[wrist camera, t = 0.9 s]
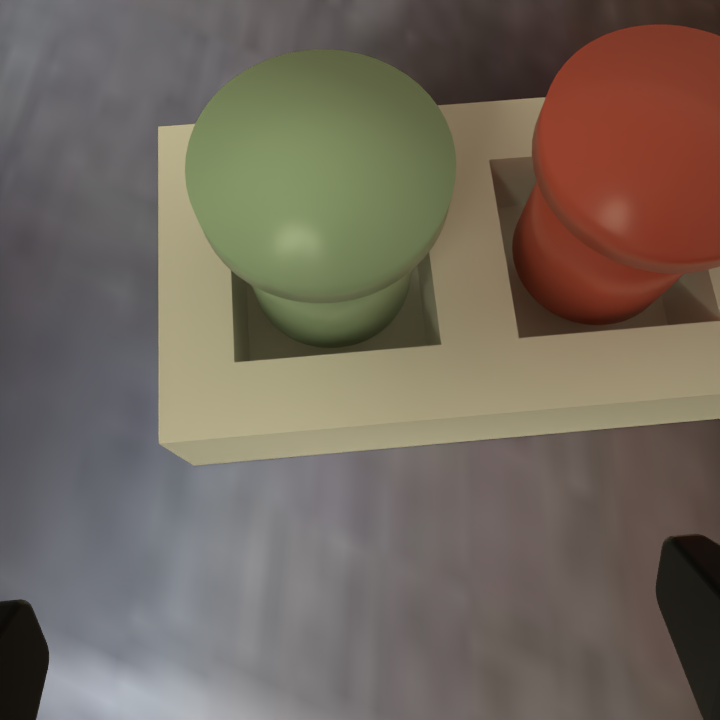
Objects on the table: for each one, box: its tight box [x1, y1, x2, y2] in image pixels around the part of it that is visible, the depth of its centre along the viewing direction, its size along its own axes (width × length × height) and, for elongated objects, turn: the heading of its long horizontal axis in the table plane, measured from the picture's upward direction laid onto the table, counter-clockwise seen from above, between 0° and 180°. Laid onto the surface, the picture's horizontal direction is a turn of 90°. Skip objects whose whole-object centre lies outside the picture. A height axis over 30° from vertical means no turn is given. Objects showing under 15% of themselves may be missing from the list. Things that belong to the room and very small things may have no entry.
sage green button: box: [185, 49, 456, 348], centre depth 18 cm, size 6×6×6 cm
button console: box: [158, 97, 720, 466], centre depth 22 cm, size 10×26×4 cm, turn 95°
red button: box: [512, 24, 720, 325], centre depth 18 cm, size 6×6×6 cm
